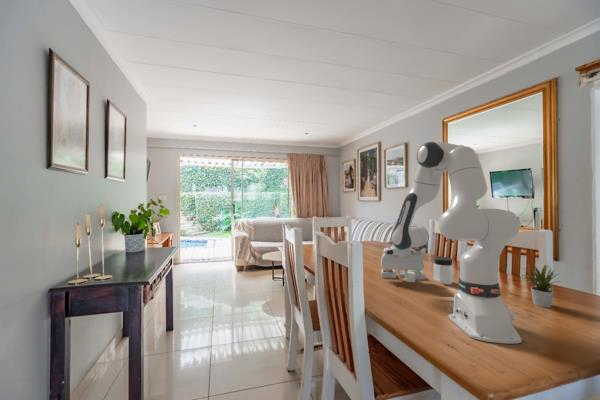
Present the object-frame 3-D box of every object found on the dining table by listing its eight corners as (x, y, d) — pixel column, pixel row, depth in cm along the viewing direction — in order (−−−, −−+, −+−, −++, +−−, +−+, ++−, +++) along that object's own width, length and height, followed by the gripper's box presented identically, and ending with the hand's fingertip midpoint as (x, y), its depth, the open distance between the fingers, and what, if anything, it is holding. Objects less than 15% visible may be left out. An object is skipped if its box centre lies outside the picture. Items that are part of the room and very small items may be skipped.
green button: (421, 277, 144) (421, 269, 144) (412, 277, 145) (412, 269, 145) (419, 275, 148) (419, 267, 148) (411, 275, 148) (411, 267, 148)
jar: (448, 286, 136) (448, 261, 136) (431, 282, 142) (431, 258, 142) (455, 282, 142) (455, 258, 142) (438, 278, 148) (438, 256, 148)
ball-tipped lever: (404, 277, 146) (410, 265, 146) (400, 276, 147) (406, 264, 146) (403, 276, 149) (409, 264, 148) (399, 274, 149) (405, 263, 148)
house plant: (521, 294, 123) (521, 257, 122) (565, 303, 113) (565, 262, 113) (515, 304, 113) (515, 263, 112) (563, 314, 103) (563, 269, 103)
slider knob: (415, 282, 138) (415, 274, 138) (406, 281, 139) (406, 274, 139) (413, 279, 142) (413, 272, 142) (405, 279, 143) (405, 271, 143)
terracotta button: (392, 273, 147) (392, 265, 147) (384, 272, 148) (384, 265, 148) (391, 271, 151) (391, 263, 151) (383, 270, 152) (383, 263, 152)
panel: (430, 286, 135) (429, 278, 135) (382, 283, 140) (382, 275, 140) (424, 278, 149) (424, 270, 149) (380, 276, 154) (380, 268, 154)
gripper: (422, 249, 142) (422, 277, 142) (380, 248, 147) (380, 275, 147) (425, 252, 136) (425, 281, 136) (381, 251, 140) (381, 278, 140)
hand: (401, 278), depth 141 cm, fingers closed
